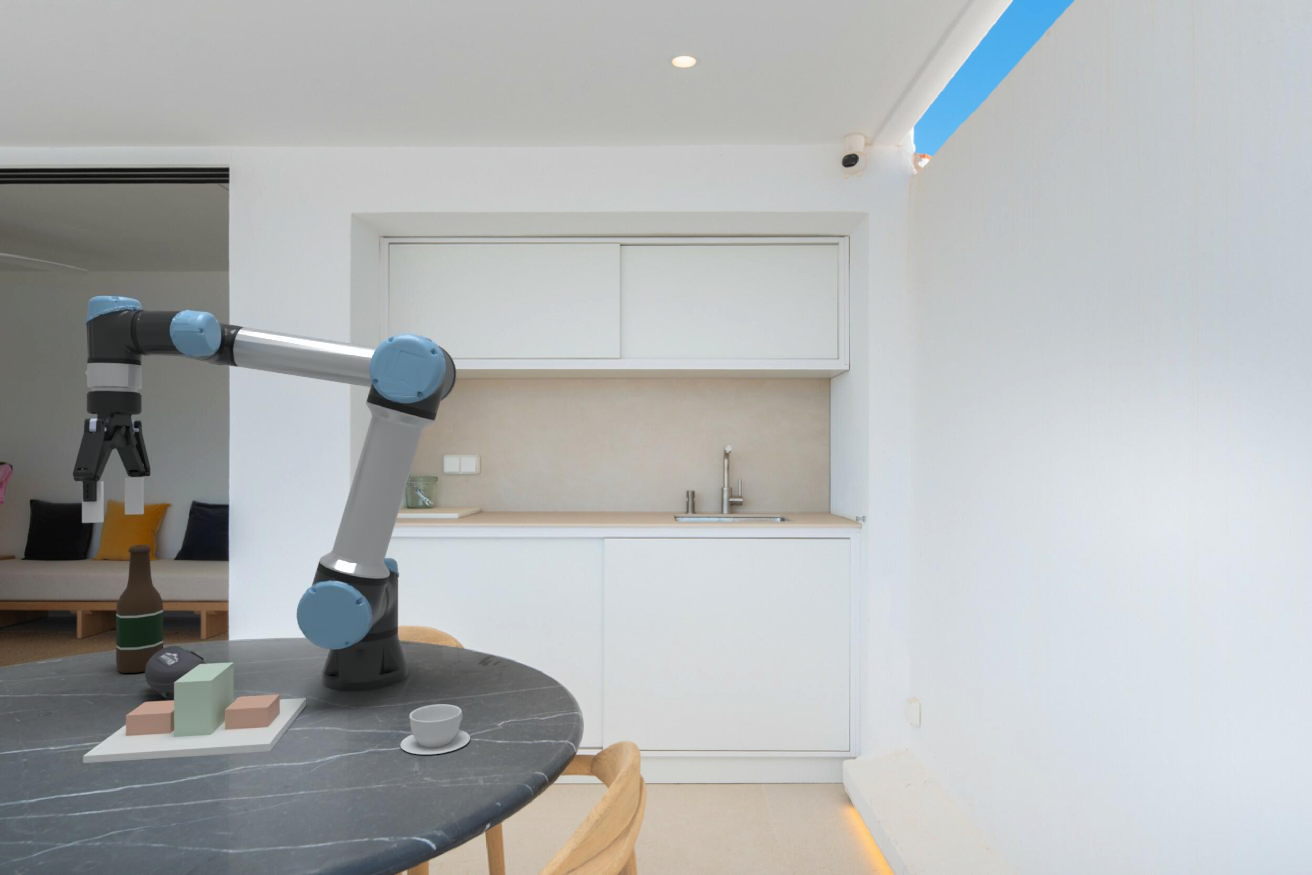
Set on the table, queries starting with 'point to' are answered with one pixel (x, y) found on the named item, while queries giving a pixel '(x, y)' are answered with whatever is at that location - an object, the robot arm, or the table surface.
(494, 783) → the table surface
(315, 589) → the robot arm
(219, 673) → the key block
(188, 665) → the glasses case
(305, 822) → the table surface
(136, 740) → the slot base
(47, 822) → the table surface
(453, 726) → the teacup
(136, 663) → the beer bottle
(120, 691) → the table surface
